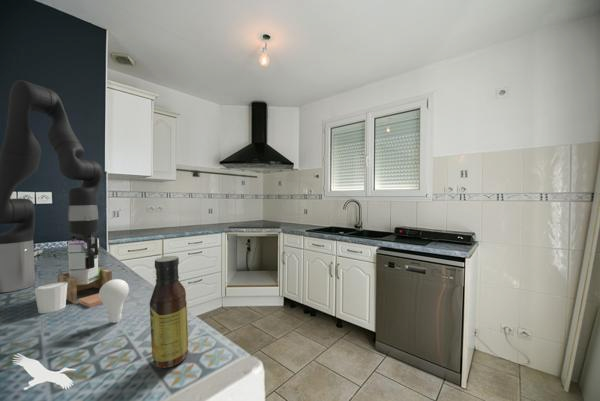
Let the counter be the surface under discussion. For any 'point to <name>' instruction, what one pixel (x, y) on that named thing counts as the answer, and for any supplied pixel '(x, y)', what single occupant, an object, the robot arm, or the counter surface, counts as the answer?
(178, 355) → the sauce bottle
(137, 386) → the counter surface
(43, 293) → the white short cylinder
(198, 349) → the counter surface
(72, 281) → the wooden box
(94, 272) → the syrup box
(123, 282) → the lightbulb
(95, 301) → the tile pad
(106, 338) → the counter surface
